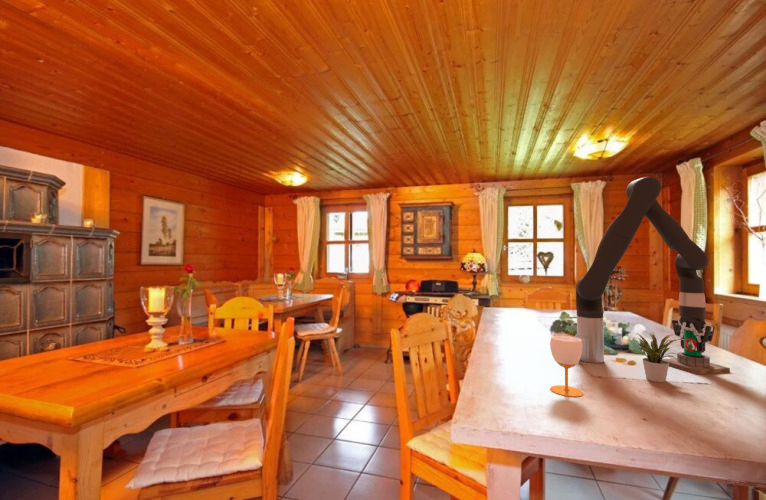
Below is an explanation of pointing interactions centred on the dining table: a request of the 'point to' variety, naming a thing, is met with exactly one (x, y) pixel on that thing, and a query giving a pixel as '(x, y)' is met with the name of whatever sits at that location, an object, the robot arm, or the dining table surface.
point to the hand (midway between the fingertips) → (692, 350)
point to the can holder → (696, 364)
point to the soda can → (691, 343)
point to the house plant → (656, 358)
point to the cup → (566, 361)
